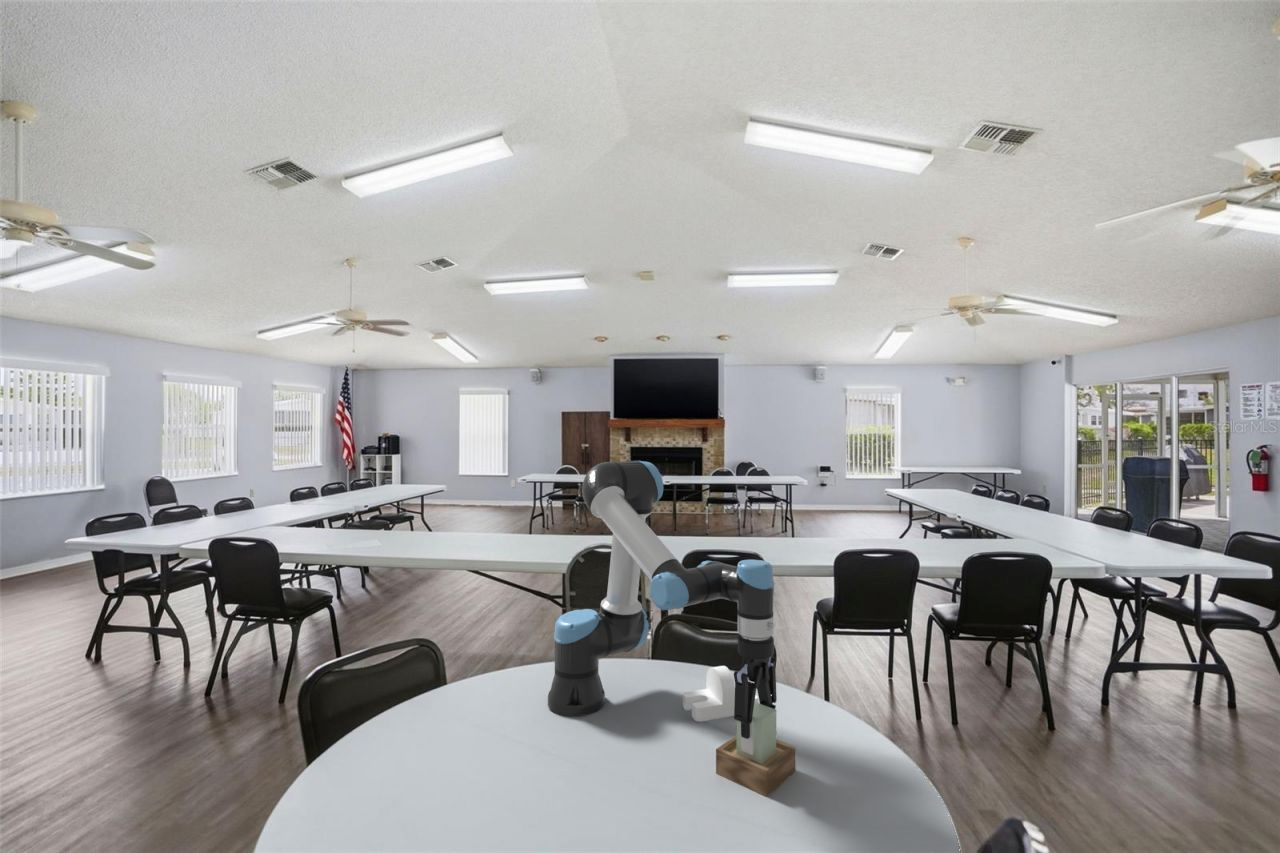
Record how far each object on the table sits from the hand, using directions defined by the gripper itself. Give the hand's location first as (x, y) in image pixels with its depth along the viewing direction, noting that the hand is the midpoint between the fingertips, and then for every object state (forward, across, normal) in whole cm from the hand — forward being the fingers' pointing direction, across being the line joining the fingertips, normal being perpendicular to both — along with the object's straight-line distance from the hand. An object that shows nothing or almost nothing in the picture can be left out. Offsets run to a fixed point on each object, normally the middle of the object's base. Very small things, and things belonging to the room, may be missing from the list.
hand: (756, 745), depth 122 cm
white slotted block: (+6, +19, +22) cm, 30 cm away
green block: (+2, 0, 0) cm, 2 cm away
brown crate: (+6, 0, 0) cm, 6 cm away
